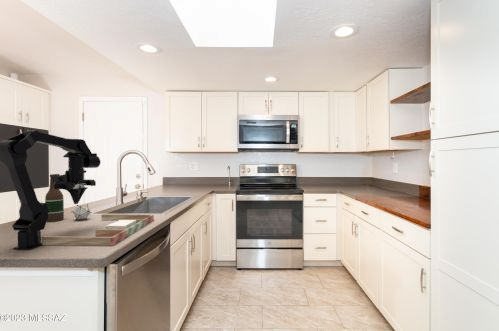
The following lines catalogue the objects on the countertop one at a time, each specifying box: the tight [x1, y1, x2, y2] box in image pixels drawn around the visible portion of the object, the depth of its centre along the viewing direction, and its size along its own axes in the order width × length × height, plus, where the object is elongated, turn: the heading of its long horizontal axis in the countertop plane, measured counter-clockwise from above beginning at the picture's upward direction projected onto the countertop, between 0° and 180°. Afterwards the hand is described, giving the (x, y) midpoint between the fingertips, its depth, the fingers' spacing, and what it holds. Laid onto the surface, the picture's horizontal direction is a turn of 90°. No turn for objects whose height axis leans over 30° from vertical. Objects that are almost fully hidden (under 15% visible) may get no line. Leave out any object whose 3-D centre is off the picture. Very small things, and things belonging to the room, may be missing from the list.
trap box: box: [41, 213, 155, 247], centre depth 120 cm, size 40×27×3 cm
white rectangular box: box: [106, 220, 136, 230], centre depth 120 cm, size 11×8×4 cm
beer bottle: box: [44, 173, 65, 223], centre depth 138 cm, size 8×8×24 cm
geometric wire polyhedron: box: [71, 203, 92, 221], centre depth 140 cm, size 9×8×10 cm
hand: (76, 203), depth 116 cm, fingers closed
